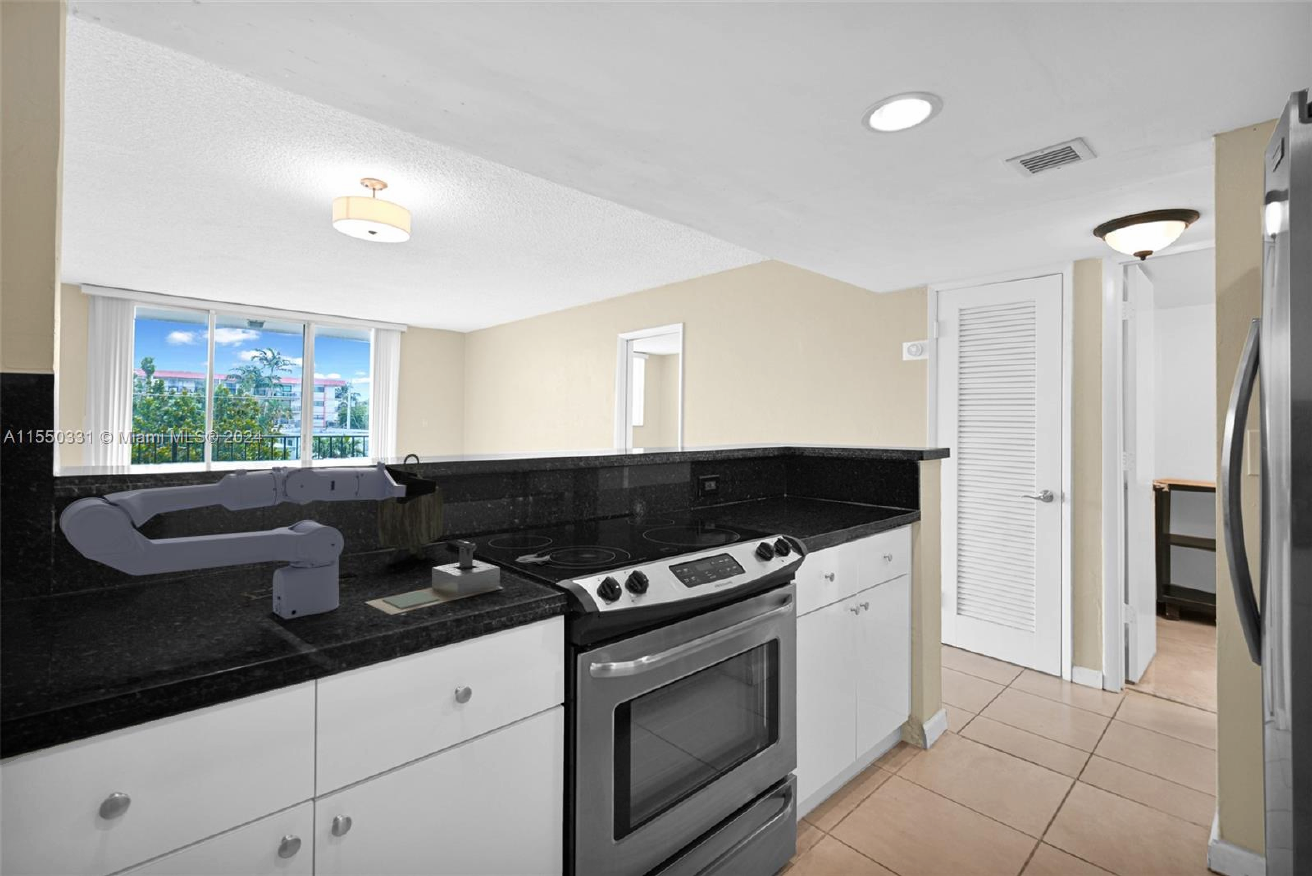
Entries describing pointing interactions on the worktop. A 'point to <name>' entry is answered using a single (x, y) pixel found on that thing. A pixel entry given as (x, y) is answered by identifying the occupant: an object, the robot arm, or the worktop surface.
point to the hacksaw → (341, 575)
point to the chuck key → (465, 554)
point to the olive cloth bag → (410, 520)
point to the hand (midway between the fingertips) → (425, 482)
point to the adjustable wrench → (532, 559)
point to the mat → (410, 600)
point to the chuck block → (465, 579)
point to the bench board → (394, 610)
